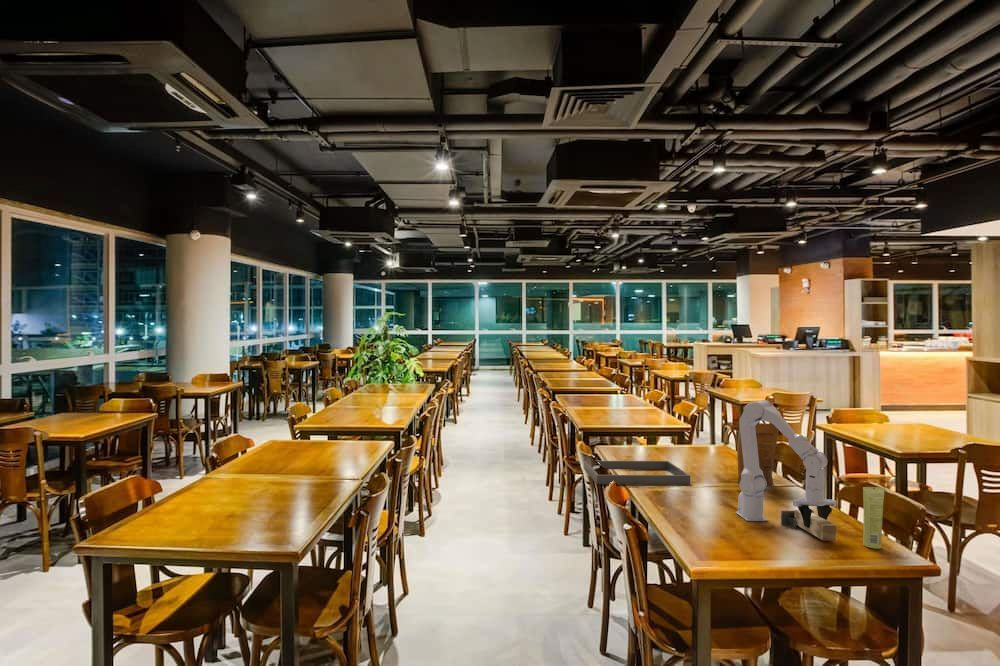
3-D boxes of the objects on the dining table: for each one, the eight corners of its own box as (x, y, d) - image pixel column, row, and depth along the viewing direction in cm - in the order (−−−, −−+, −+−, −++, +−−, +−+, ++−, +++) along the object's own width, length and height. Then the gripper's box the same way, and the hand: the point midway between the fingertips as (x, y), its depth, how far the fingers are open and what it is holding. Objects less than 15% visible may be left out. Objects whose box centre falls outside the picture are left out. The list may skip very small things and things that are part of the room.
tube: (865, 541, 188) (866, 483, 188) (883, 546, 185) (884, 486, 185) (861, 546, 184) (862, 487, 184) (879, 550, 181) (881, 490, 181)
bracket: (780, 524, 204) (781, 510, 204) (812, 524, 205) (813, 510, 205) (788, 528, 200) (788, 514, 200) (820, 528, 200) (821, 514, 200)
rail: (794, 523, 202) (794, 509, 202) (806, 523, 203) (806, 509, 203) (822, 540, 186) (822, 525, 186) (835, 540, 187) (836, 525, 187)
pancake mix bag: (780, 486, 255) (782, 424, 254) (738, 485, 255) (739, 423, 255) (774, 482, 261) (775, 422, 261) (732, 481, 262) (733, 421, 262)
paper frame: (583, 468, 281) (583, 460, 281) (668, 468, 283) (668, 460, 283) (596, 484, 253) (596, 475, 253) (690, 484, 255) (690, 475, 255)
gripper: (801, 491, 190) (800, 531, 190) (842, 491, 191) (841, 530, 191) (789, 485, 197) (788, 523, 197) (829, 485, 198) (828, 523, 198)
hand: (813, 526), depth 195 cm, fingers closed on rail, 4 cm apart
